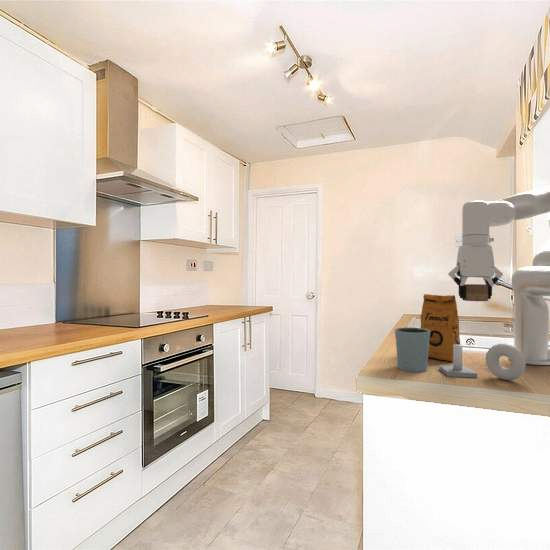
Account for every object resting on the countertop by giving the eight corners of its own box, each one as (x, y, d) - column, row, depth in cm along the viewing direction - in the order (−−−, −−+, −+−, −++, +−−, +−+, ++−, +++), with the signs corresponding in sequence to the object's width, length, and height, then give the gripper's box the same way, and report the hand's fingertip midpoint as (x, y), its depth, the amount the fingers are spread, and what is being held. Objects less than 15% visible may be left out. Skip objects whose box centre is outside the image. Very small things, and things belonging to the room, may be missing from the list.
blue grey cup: (432, 367, 119) (432, 329, 119) (426, 375, 110) (427, 333, 110) (398, 363, 124) (399, 326, 124) (390, 370, 116) (391, 330, 116)
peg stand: (466, 370, 116) (467, 343, 116) (477, 377, 108) (477, 348, 108) (439, 369, 117) (439, 342, 117) (447, 376, 109) (447, 347, 109)
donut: (483, 376, 109) (483, 341, 109) (488, 375, 111) (489, 340, 111) (522, 385, 101) (522, 347, 101) (527, 383, 103) (528, 345, 103)
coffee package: (452, 364, 124) (452, 295, 124) (416, 357, 133) (416, 294, 133) (465, 359, 131) (465, 294, 131) (429, 353, 140) (430, 293, 140)
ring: (481, 299, 123) (481, 284, 123) (491, 301, 117) (491, 284, 117) (460, 299, 124) (460, 284, 124) (468, 301, 117) (468, 284, 117)
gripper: (499, 242, 123) (498, 298, 123) (442, 242, 125) (442, 297, 125) (511, 240, 115) (510, 299, 116) (450, 240, 117) (450, 299, 117)
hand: (475, 298), depth 120 cm, fingers closed on ring, 6 cm apart
